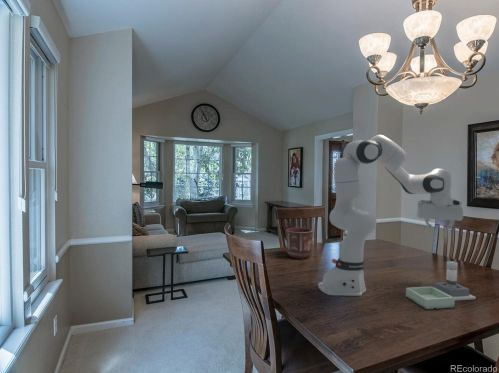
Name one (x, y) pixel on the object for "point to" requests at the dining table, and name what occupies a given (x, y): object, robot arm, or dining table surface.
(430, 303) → the parts tray
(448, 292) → the fuse board
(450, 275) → the cylinder
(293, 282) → the dining table surface
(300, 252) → the pottery
